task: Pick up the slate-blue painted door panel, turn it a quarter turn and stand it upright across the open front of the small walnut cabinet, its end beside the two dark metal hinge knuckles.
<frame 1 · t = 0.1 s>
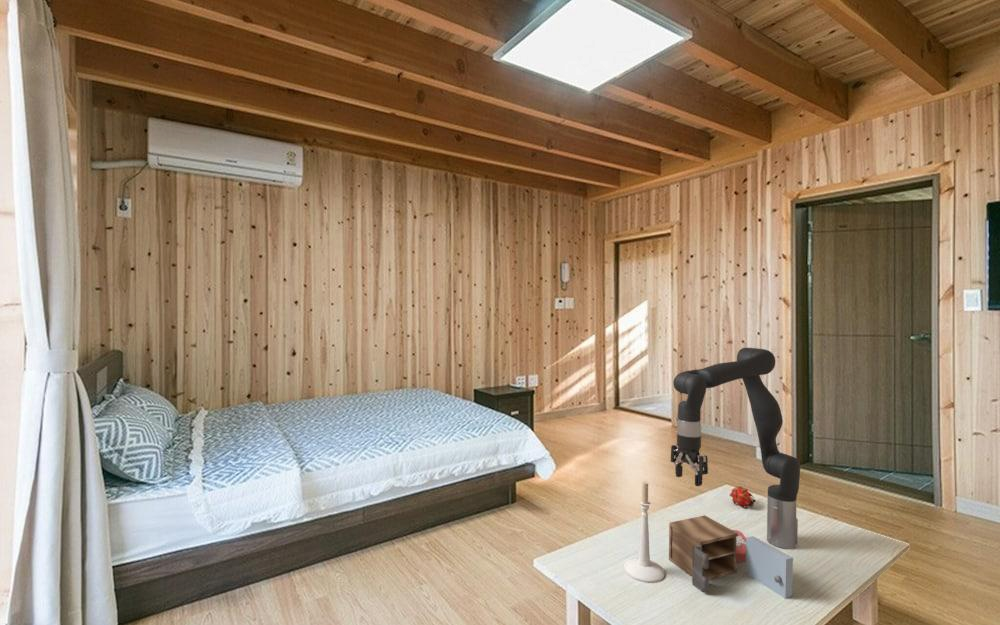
hand: (688, 481, 156), 29 cm above the table, fingers open, 8 cm apart
cabinet: (702, 565, 158), on the table
door: (767, 584, 147), on the table
dragon fruit: (742, 506, 206), on the table
candlestick: (644, 571, 154), on the table
plaque: (727, 549, 170), on the table
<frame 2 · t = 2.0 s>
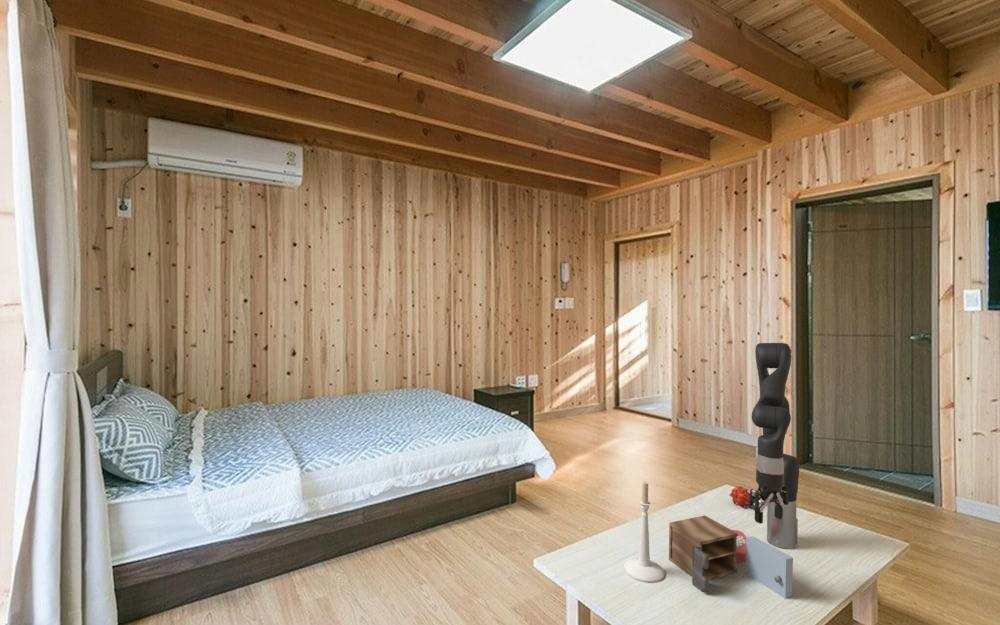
hand: (768, 520, 147), 20 cm above the table, fingers open, 8 cm apart
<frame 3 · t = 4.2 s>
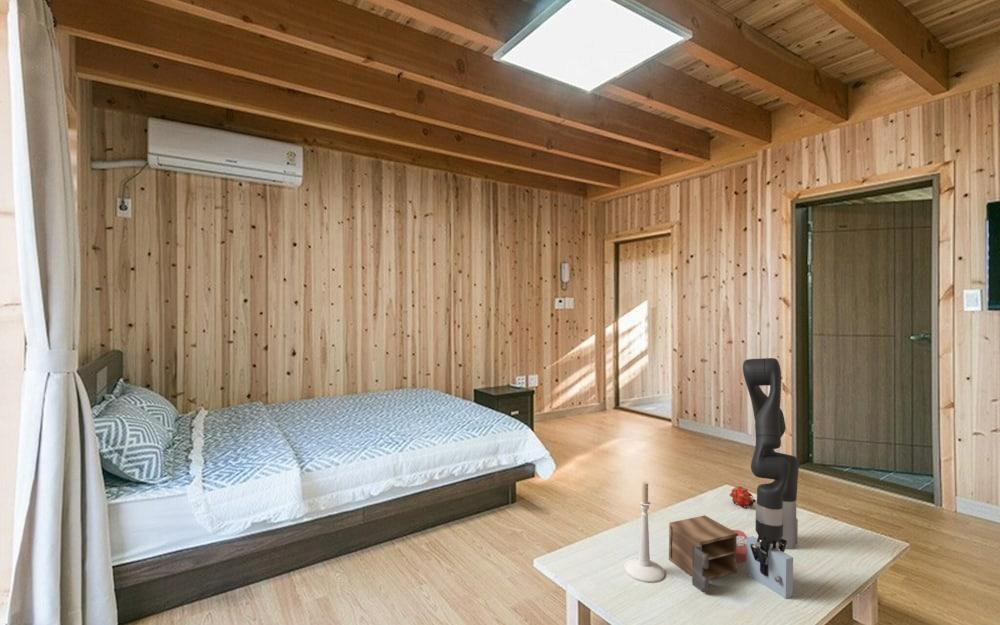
hand: (768, 573, 147), 4 cm above the table, fingers closed on door, 3 cm apart
door: (768, 584, 147), on the table, touching gripper
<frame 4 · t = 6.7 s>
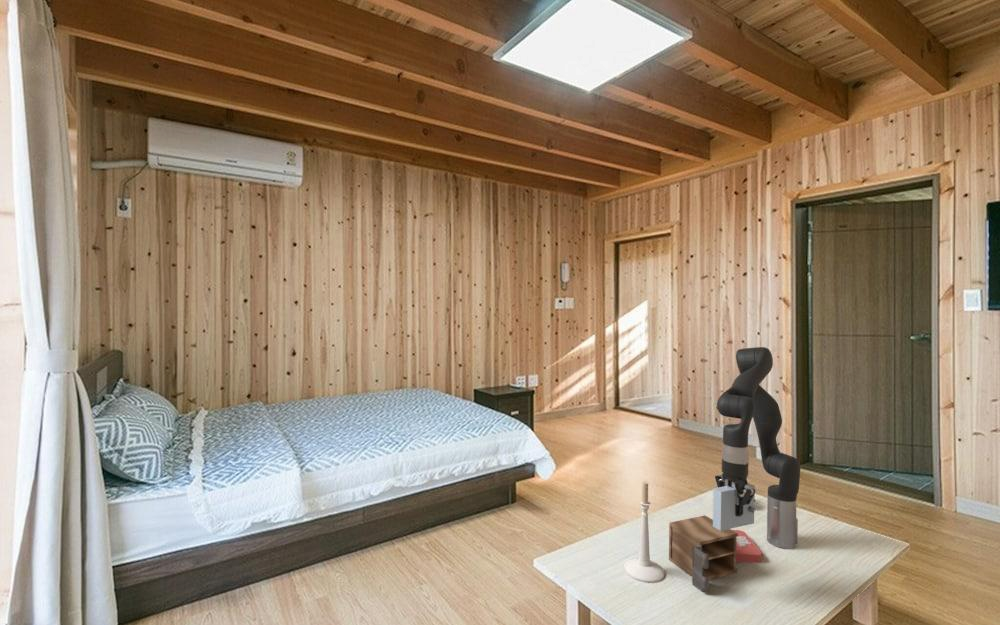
hand: (733, 513, 146), 23 cm above the table, fingers closed on door, 3 cm apart
door: (733, 524, 146), point 19 cm above the table, touching gripper
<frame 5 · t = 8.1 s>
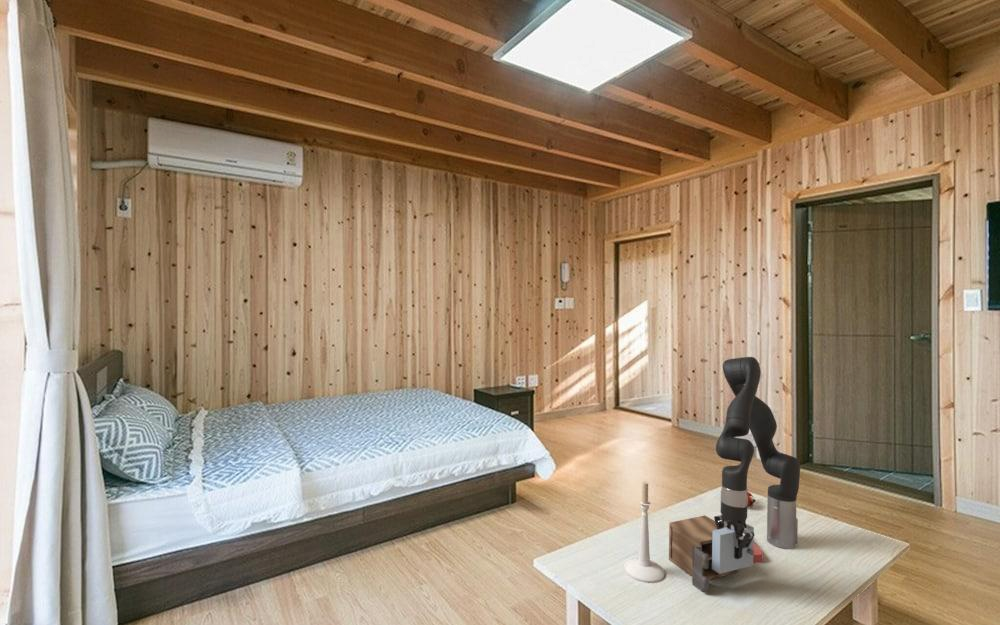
hand: (733, 555, 147), 10 cm above the table, fingers closed on door, 3 cm apart
door: (732, 566, 147), point 6 cm above the table, touching gripper
when the fingers open (5 cm above the table, at t = 9.3 s): door drops 2 cm, on the table.
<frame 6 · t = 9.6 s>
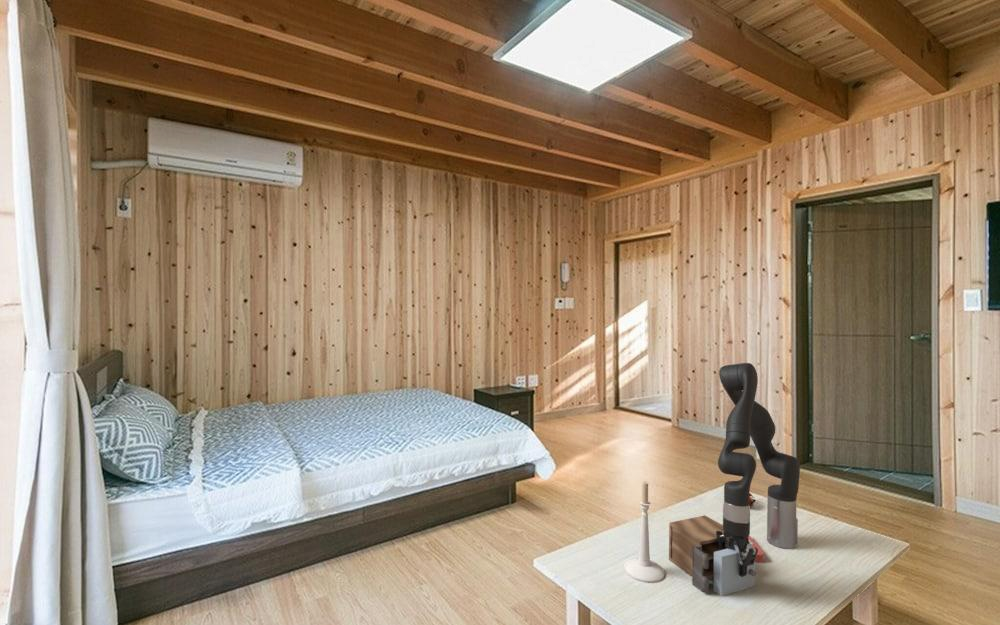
hand: (735, 571, 145), 5 cm above the table, fingers open, 4 cm apart
door: (734, 588, 145), on the table
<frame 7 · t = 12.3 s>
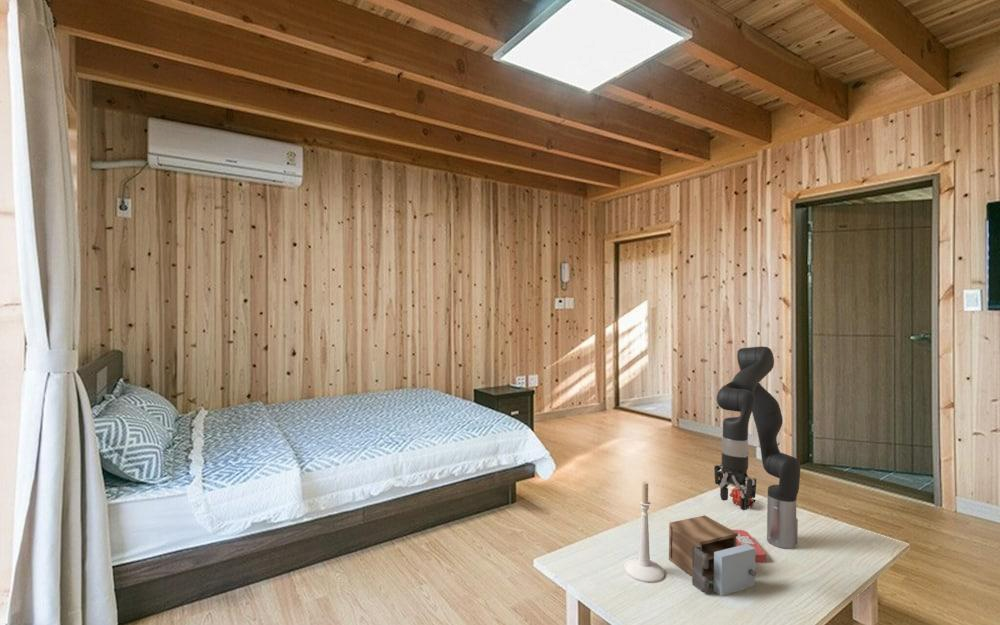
hand: (734, 504, 146), 26 cm above the table, fingers open, 7 cm apart
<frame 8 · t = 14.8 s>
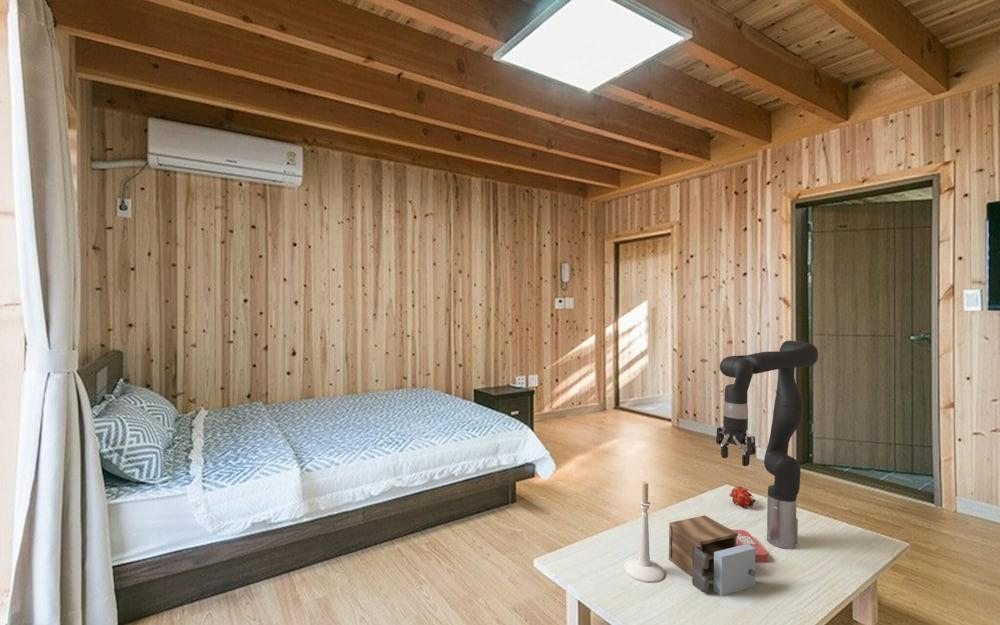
hand: (734, 461, 161), 34 cm above the table, fingers open, 8 cm apart
at the end: door inside the target area (1.0 cm from its centre), on the table; door tilted 0°; the gripper is holding nothing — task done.
